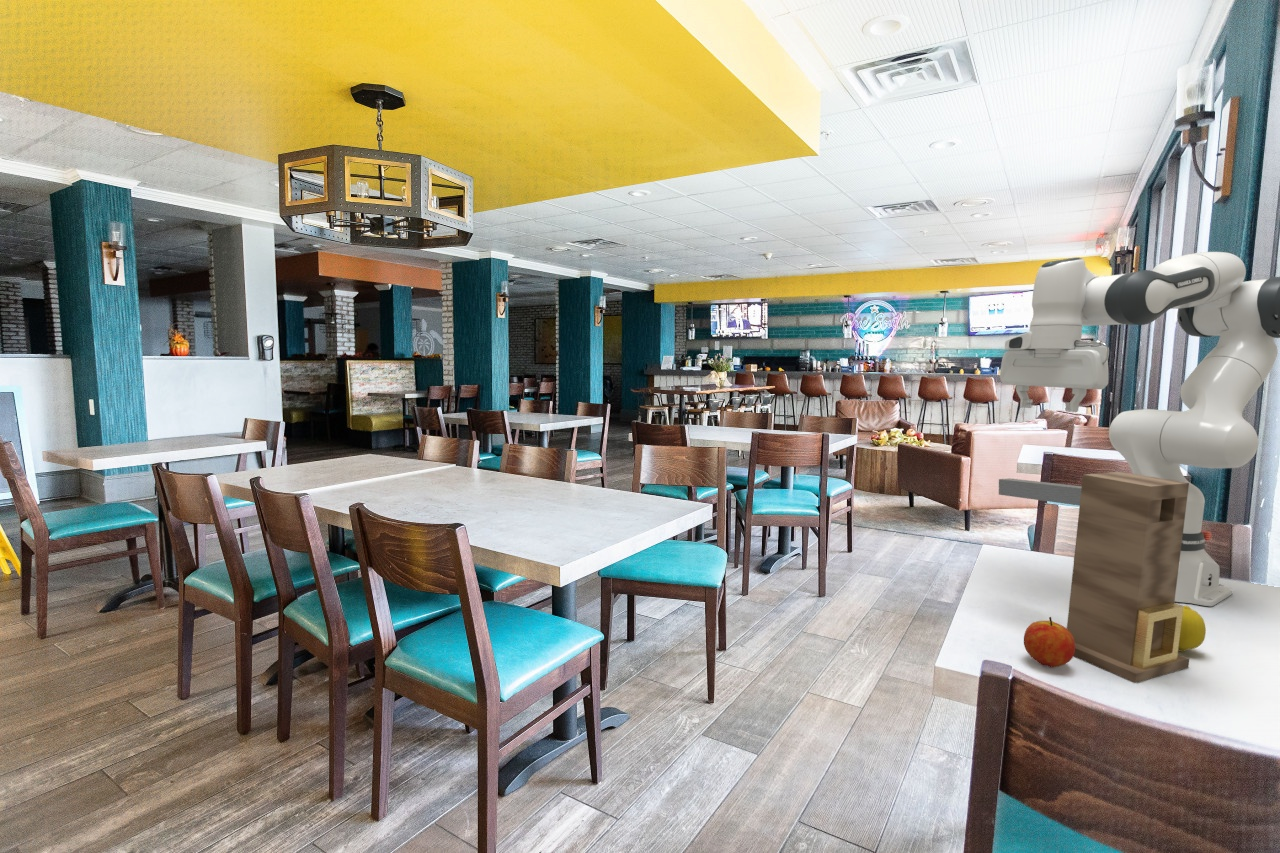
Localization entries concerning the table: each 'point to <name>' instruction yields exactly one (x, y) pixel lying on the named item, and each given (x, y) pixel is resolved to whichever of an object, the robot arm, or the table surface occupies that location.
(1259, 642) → the table surface
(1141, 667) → the frame
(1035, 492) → the shaft
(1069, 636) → the fruit
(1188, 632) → the lemon
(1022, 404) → the robot arm
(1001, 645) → the table surface
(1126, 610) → the block
